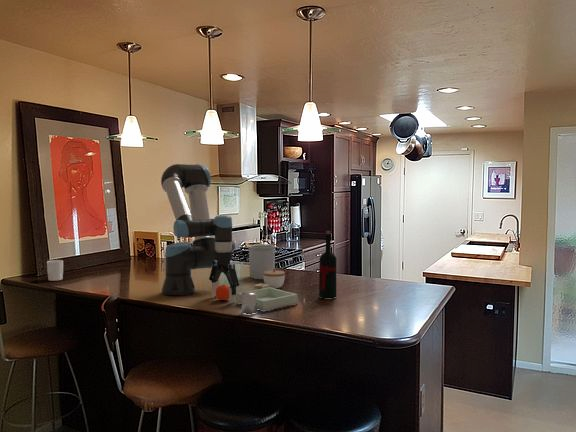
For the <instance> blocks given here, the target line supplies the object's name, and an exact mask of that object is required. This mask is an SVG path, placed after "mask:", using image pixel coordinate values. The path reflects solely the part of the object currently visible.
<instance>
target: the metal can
mask: <svg viewBox="0 0 576 432" xmlns="http://www.w3.org/2000/svg"><path fill="white" fill-rule="evenodd" d="M241 293H242V292H241ZM256 312H257V313H258V310H257V293H256V292H248V291H243V293H242V305H241V314H242V313H246V314H252V313H256Z"/></svg>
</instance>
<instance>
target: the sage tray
mask: <svg viewBox="0 0 576 432" xmlns="http://www.w3.org/2000/svg"><path fill="white" fill-rule="evenodd" d="M243 292H244V291H243ZM243 292H237V303H238V302H239V303H242V293H243ZM247 292H256V293H257V309H260V310H268V309H272V308H278V307H282V306H286V305H291V304H296V303H297V304H298V294H297V293H294V292H291V291H285V290H282V289H280V288H279V289H275V288H271V287H269V288H264V289H258V290H254V289H253V290H248V291H247Z"/></svg>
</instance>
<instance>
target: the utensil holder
mask: <svg viewBox="0 0 576 432" xmlns="http://www.w3.org/2000/svg"><path fill="white" fill-rule="evenodd" d="M247 248H248V261H249V262H248V263H249V264H248V265H249V266H248V267H249V277H251V278H250V279H252V278H254V279H253V280H264V275H263V272H265V271H270V270H273V269H275V270H276V268H275V267H276V263H275V262H276V258H275V257H276V256H275V254H276V253H275V252H276V251H275V250H276V245H275V244H271V243H270V244H269V243H265V244H262V243H261V244H250V245H248V246H247Z"/></svg>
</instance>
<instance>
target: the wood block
mask: <svg viewBox="0 0 576 432" xmlns="http://www.w3.org/2000/svg"><path fill="white" fill-rule="evenodd" d="M264 288H269V285H268V284H265V283H258V284H253V290H258V289H264Z"/></svg>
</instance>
